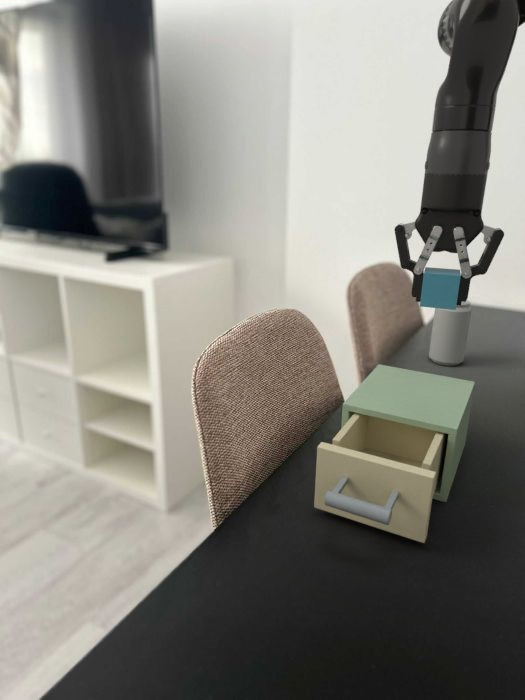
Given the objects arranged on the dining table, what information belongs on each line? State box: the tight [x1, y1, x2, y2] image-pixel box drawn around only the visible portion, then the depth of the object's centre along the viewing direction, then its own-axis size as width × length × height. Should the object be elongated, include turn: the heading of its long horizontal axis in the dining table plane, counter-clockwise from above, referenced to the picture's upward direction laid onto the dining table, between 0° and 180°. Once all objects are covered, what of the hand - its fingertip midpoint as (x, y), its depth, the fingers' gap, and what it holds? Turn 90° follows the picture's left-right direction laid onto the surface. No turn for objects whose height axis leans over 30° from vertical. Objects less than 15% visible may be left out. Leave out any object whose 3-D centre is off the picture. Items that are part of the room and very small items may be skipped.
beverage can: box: [428, 299, 472, 367], centre depth 97 cm, size 6×6×12 cm
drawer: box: [313, 413, 448, 544], centre depth 54 cm, size 18×11×7 cm, turn 152°
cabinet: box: [340, 364, 476, 503], centre depth 64 cm, size 15×13×9 cm
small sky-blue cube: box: [419, 266, 461, 310], centre depth 70 cm, size 5×5×5 cm
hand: (438, 301), depth 70 cm, fingers closed on small sky-blue cube, 4 cm apart
